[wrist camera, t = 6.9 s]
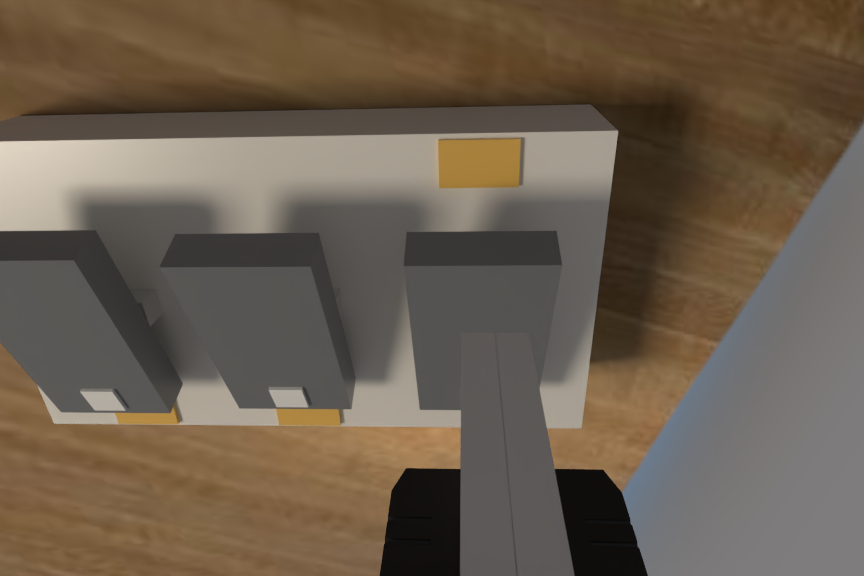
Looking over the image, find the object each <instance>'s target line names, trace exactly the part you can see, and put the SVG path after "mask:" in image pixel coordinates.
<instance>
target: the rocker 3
mask: <svg viewBox="0 0 864 576" xmlns="http://www.w3.org/2000/svg"><path fill="white" fill-rule="evenodd" d="M561 269H562V261H561V255H560V249H559V243H558V237H557V231H464V232H407V234H406V245H405V256H404V274H405V283H406V292H407V301H408V310H409V319H410V328H411V336H412V345H413V354H414V363H415V372H416V381H417V390H418V399H419V408H420V410H461V333H529V336H530V341H531V346H532V352H533V357H534V362H535V368H536V373H537V378H538V384H539V389H540V384H541V378H542V373H543V367H544V362H545V356H546V351H547V345H548V340H549V335H550V329H551V324H552V318H553V313H554V307H555V302H556V296H557V291H558V286H559V280H560V275H561Z"/></svg>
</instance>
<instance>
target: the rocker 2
mask: <svg viewBox="0 0 864 576" xmlns="http://www.w3.org/2000/svg"><path fill="white" fill-rule="evenodd" d="M159 268H160V270H161V272H162V273H163V275H164V277H165V279H166V281H167V282H168V284H169V286H170V288H171V289H172V291H173V293H174V295H175V296H176V298H177V300H178V302H179V303H180V305H181V307H182V309H183V310H184V312H185V314H186V316H187V317H188V319H189V321H190V323H191V324H192V326H193V328H194V330H195V331H196V333H197V335H198V337H199V338H200V340H201V342H202V344H203V345H204V347H205V349H206V351H207V352H208V354H209V356H210V358H211V359H212V361H213V363H214V365H215V366H216V368H217V370H218V372H219V373H220V375H221V377H222V379H223V380H224V382H225V384H226V386H227V387H228V389H229V391H230V393H231V394H232V396H233V398H234V400H235V402H236V403H237V405H238V407H239V409H352V402H353V395H354V388H355V381H356V377H355V373H354V369H353V365H352V361H351V357H350V353H349V349H348V346H347V342H346V338H345V334H344V330H343V326H342V322H341V318H340V314H339V310H338V306H337V302H336V298H335V294H334V291H333V287H332V283H331V279H330V275H329V271H328V267H327V263H326V259H325V255H324V251H323V247H322V243H321V240H320V236H319V233H231V234H175V236H174V238H173V240H172V242H171V244H170V246H169V248H168V250H167V252H166V254H165V256H164V258H163V260H162V262H161V265H160V267H159Z"/></svg>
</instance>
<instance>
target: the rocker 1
mask: <svg viewBox="0 0 864 576" xmlns="http://www.w3.org/2000/svg"><path fill="white" fill-rule="evenodd" d="M0 342H1V344H2V345H3V346H4V347H5V348H6V349H7V351H8V352H9V353H10V354H11V355H12V356H13V357H14V359H15V360H16V361H17V362H18V363H19V364H20V366H21V367H22V368H23V369H24V370H25V371H26V372H27V374H28V375H29V376H30V377H31V378H32V379H33V380H34V382H35V383H36V384H37V385H38V386H39V387H40V389H41V390H42V391H43V392H44V393H45V394H46V395H47V397H48V398H49V399H50V400H51V401H52V402H53V404H54V405H55V406H56V407H57V408H58V409H59V410H60V412H71V413H171V411H172V409H173V406H174V404H175V402H176V399H177V397H178V395H179V392H180V390H181V388H182V385H183V383H182V381H181V379H180V377H179V376H178V374H177V372H176V370H175V369H174V367H173V365H172V363H171V361H170V360H169V358H168V356H167V354H166V353H165V351H164V349H163V347H162V346H161V344H160V342H159V340H158V339H157V337H156V335H155V333H154V332H153V330H152V328H151V326H150V325H149V323H148V321H147V319H146V318H145V316H144V314H143V312H142V311H141V309H140V307H139V305H138V304H137V302H136V300H135V298H134V297H133V295H132V293H131V291H130V290H129V288H128V286H127V284H126V283H125V281H124V279H123V277H122V276H121V274H120V272H119V270H118V269H117V267H116V265H115V263H114V262H113V260H112V258H111V256H110V255H109V253H108V251H107V249H106V248H105V246H104V244H103V242H102V241H101V239H100V237H99V235H98V233H97V232H96V230H61V231H0Z"/></svg>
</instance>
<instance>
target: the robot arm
mask: <svg viewBox="0 0 864 576" xmlns="http://www.w3.org/2000/svg"><path fill="white" fill-rule="evenodd" d="M380 576H648V575H647V572H646V568H645V565H644V562H643V559H642V556H641V553H640V550H639V548H638V546H637V540H636V536H635V533H634V530H633V527H632V525H631V524H630V517H629V514H628V511H627V507H626V504H625V501H624V498H623V495H622V492H621V491H620V490H619V489H618V487H617V486H616V485H615V484H614V483H613V481H612V480H611V479H610V478H609V476H608V475H607V474H606V473H605V472H604V470H584V469H554V464H553V458H552V453H551V448H550V442H549V437H548V432H547V426H546V421H545V416H544V410H543V405H542V400H541V394H540V389H539V384H538V378H537V373H536V368H535V362H534V357H533V352H532V346H531V341H530V336H529V333H461V469H417V468H406V469H405V471H404V473H403V474H402V476H401V477H400V479H399V480H398V482H397V483H396V485H395V486H394V488H393V489H392V492H391V500H390V507H389V514H388V522H387V528H386V535H385V544H384V549H383V556H382V564H381V571H380Z"/></svg>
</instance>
